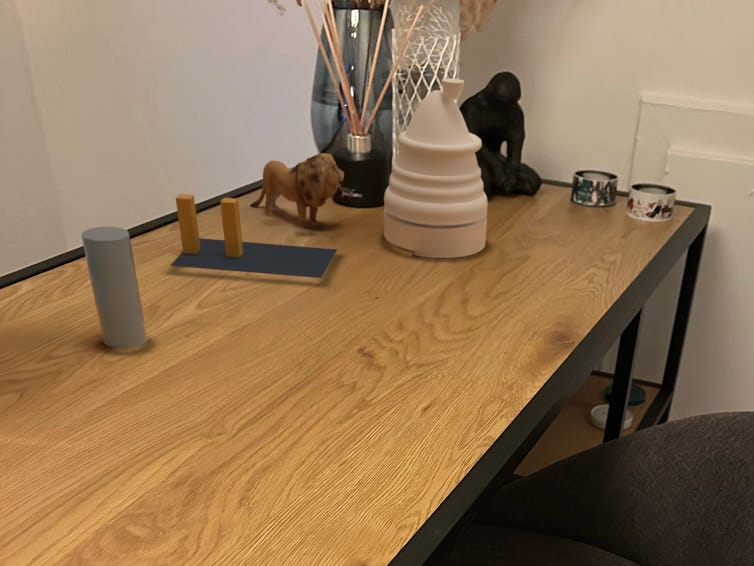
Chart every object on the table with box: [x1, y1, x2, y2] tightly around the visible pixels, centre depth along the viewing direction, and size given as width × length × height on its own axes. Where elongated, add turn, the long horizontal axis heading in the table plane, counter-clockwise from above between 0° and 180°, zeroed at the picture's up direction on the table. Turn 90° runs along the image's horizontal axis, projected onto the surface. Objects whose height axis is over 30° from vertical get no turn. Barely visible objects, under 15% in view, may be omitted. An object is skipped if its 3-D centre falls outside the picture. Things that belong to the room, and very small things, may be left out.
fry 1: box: [175, 193, 201, 254], centre depth 106 cm, size 2×2×6 cm
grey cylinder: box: [81, 226, 148, 349], centre depth 86 cm, size 4×4×10 cm
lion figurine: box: [249, 152, 345, 228], centre depth 118 cm, size 15×5×9 cm, turn 59°
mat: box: [170, 237, 338, 279], centre depth 108 cm, size 17×10×1 cm, turn 86°
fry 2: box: [219, 197, 243, 258], centre depth 106 cm, size 2×2×6 cm
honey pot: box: [383, 77, 489, 259], centre depth 113 cm, size 13×13×18 cm
